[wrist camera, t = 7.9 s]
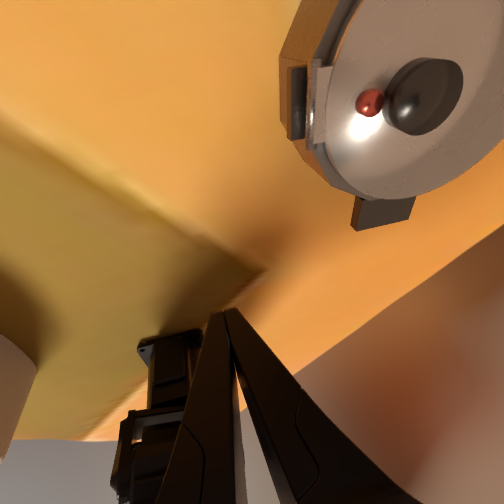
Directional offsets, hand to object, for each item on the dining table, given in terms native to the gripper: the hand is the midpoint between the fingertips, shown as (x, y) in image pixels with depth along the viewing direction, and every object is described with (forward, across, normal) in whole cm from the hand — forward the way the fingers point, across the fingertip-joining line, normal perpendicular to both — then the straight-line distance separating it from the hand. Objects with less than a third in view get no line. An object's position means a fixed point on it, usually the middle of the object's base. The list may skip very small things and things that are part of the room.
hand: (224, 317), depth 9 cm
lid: (+7, -11, -5) cm, 14 cm away
